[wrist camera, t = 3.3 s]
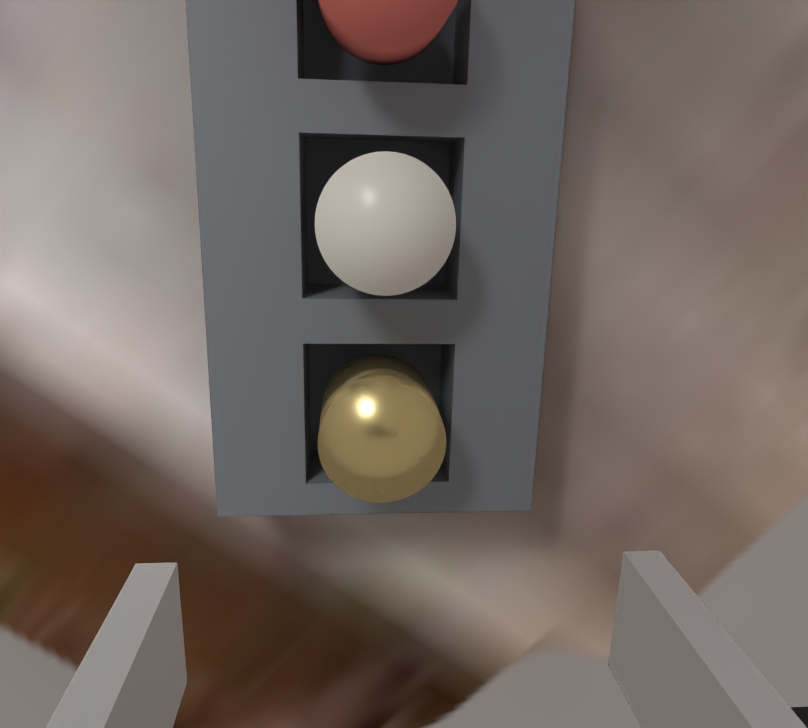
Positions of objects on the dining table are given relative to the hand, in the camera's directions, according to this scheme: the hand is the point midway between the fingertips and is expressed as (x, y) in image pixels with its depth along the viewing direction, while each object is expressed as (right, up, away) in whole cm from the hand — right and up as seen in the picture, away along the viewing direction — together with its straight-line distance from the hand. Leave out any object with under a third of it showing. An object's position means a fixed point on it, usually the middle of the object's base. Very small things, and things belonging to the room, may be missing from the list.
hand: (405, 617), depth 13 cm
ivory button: (-1, +10, +10) cm, 14 cm away
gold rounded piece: (-1, +3, +12) cm, 12 cm away
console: (-1, +11, +13) cm, 17 cm away
